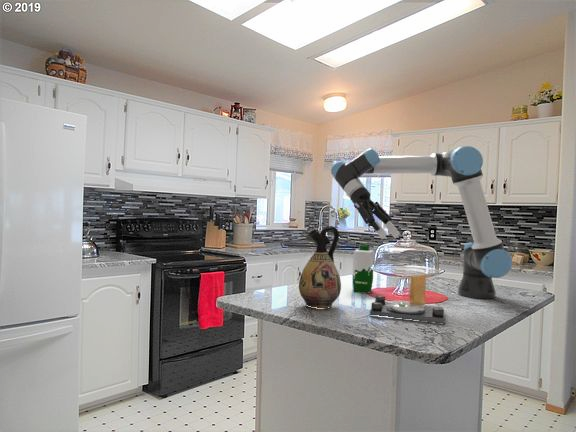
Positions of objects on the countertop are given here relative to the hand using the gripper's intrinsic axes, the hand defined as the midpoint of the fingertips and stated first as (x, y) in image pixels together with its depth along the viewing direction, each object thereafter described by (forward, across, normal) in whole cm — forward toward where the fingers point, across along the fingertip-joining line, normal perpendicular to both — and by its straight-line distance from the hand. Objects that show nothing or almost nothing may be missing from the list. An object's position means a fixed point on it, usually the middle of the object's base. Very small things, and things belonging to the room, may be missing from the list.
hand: (391, 236), depth 164 cm
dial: (+25, +3, -10) cm, 27 cm away
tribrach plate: (+26, +4, -12) cm, 29 cm away
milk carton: (+2, -17, -36) cm, 40 cm away
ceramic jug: (+8, +20, -30) cm, 37 cm away
